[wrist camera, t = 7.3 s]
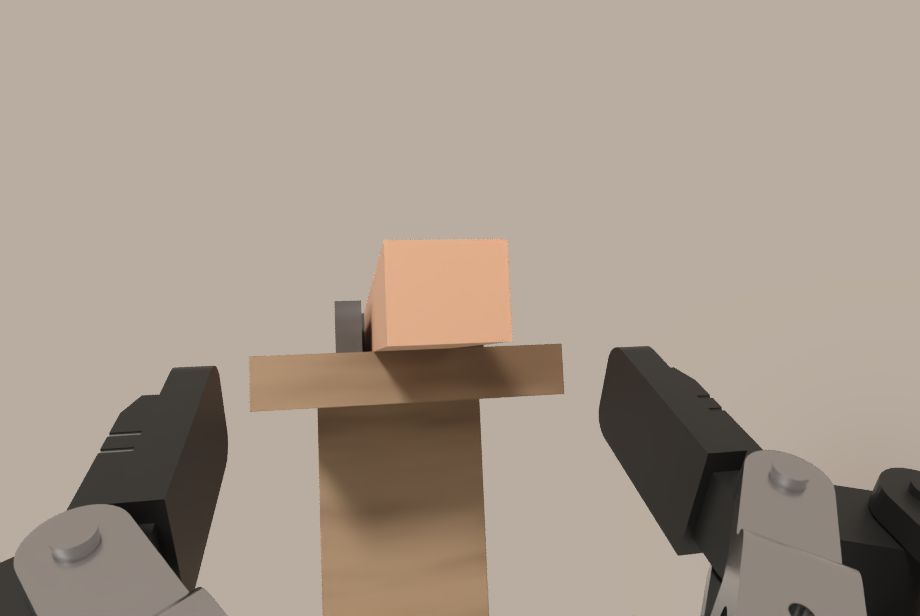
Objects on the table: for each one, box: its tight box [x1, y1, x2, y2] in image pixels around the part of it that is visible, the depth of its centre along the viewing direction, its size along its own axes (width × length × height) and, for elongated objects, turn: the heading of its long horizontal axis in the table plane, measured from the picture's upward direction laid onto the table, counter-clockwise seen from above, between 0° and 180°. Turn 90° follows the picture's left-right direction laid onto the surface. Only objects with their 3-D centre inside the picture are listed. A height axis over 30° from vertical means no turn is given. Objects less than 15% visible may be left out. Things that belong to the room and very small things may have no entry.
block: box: [364, 239, 512, 352], centre depth 25 cm, size 22×3×2 cm, turn 10°
